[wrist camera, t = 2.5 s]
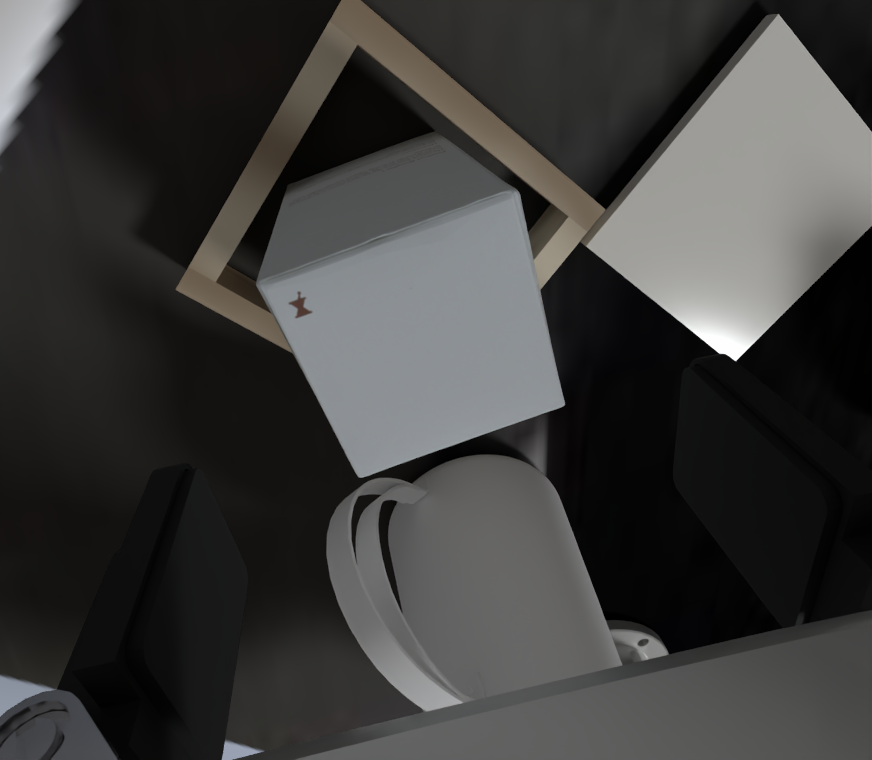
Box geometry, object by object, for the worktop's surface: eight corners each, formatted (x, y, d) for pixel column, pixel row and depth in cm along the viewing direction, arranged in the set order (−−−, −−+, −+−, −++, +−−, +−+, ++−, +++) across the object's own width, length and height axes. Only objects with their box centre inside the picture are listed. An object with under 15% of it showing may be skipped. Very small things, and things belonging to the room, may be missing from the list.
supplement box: (345, 326, 30) (350, 487, 19) (283, 181, 26) (244, 278, 15) (484, 278, 29) (571, 412, 19) (442, 125, 26) (520, 181, 15)
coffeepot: (521, 646, 44) (628, 991, 28) (267, 461, 33) (198, 862, 17) (642, 567, 42) (834, 894, 26) (412, 338, 30) (498, 667, 14)
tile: (724, 357, 34) (732, 363, 33) (580, 241, 29) (586, 246, 28) (900, 181, 30) (913, 184, 29) (766, 15, 25) (778, 14, 25)
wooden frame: (421, 401, 32) (427, 426, 30) (188, 270, 27) (175, 289, 25) (585, 197, 28) (605, 209, 26) (346, -6, 23) (347, -11, 21)
